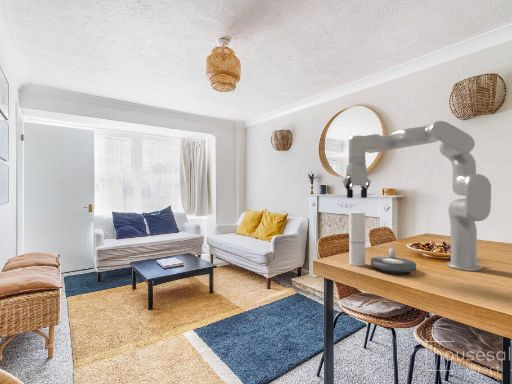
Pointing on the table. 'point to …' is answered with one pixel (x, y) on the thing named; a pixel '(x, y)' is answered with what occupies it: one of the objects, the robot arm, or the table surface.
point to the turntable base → (392, 271)
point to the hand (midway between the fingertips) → (357, 197)
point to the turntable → (393, 263)
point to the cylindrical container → (357, 238)
